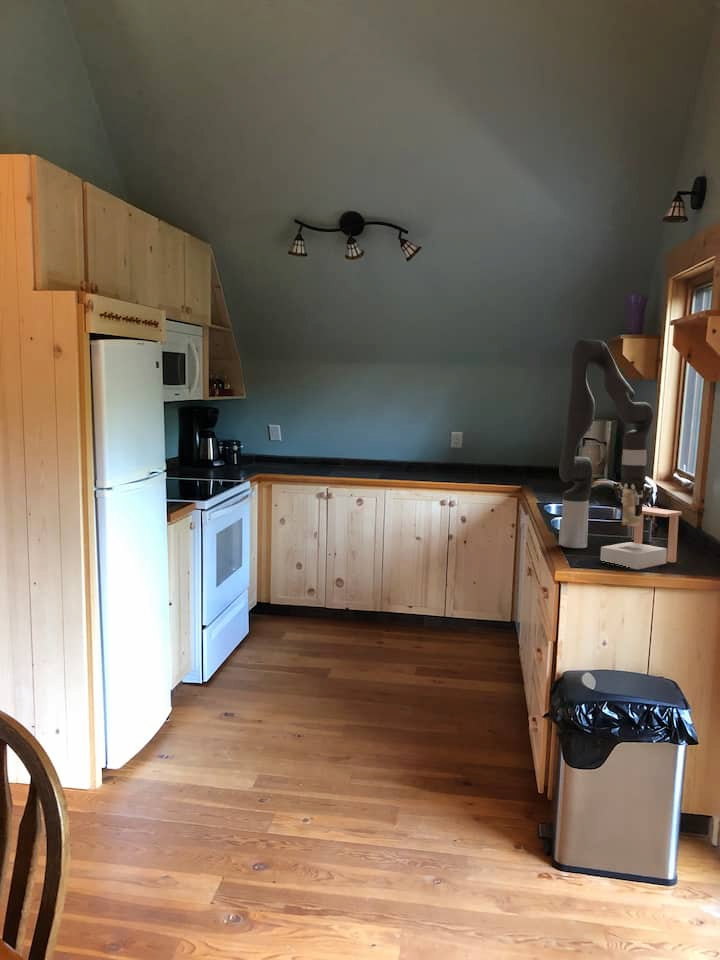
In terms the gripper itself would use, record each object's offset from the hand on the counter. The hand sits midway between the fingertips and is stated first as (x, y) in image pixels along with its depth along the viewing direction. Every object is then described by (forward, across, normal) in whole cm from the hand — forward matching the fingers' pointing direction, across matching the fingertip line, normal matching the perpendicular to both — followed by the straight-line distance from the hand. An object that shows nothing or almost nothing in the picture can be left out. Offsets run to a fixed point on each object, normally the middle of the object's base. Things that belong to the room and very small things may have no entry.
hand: (631, 515), depth 242 cm
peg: (+3, 0, 0) cm, 3 cm away
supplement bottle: (+16, -21, +38) cm, 46 cm away
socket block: (+16, 0, +2) cm, 16 cm away
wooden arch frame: (+16, 0, +11) cm, 20 cm away
